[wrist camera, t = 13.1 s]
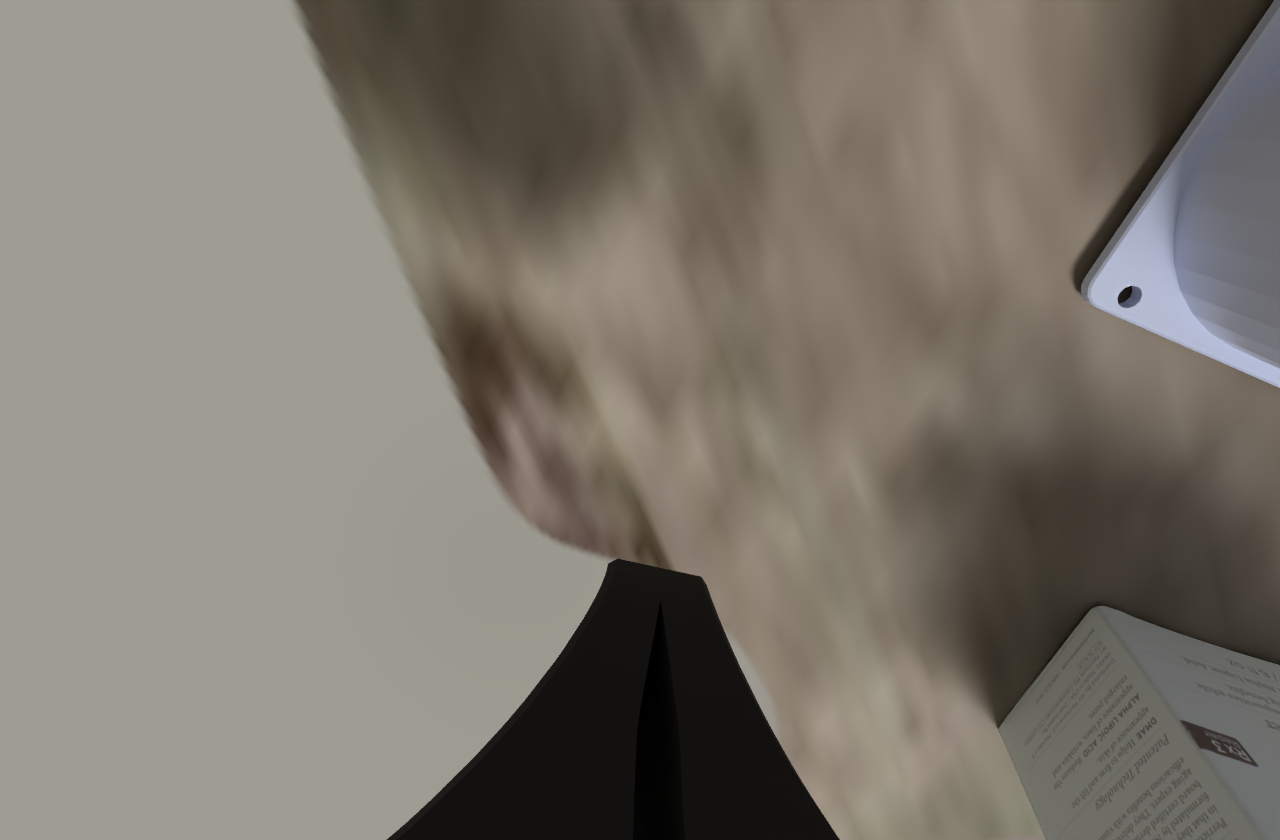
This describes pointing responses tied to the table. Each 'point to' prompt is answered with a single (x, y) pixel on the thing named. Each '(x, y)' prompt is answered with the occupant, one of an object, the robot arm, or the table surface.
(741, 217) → the table surface
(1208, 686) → the skincare box
